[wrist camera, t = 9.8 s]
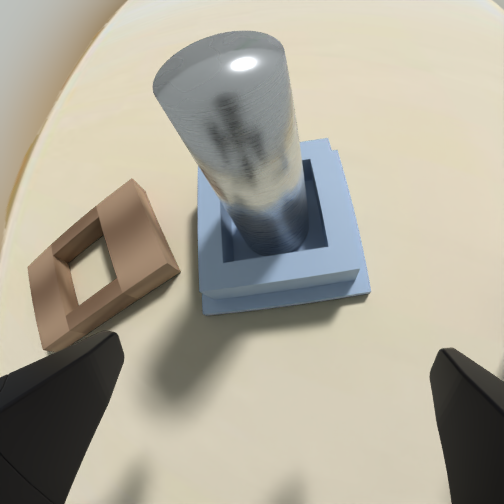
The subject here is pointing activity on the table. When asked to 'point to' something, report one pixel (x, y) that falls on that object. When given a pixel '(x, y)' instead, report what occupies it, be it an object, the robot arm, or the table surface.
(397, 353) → the table surface
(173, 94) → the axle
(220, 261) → the tray
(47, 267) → the holder
